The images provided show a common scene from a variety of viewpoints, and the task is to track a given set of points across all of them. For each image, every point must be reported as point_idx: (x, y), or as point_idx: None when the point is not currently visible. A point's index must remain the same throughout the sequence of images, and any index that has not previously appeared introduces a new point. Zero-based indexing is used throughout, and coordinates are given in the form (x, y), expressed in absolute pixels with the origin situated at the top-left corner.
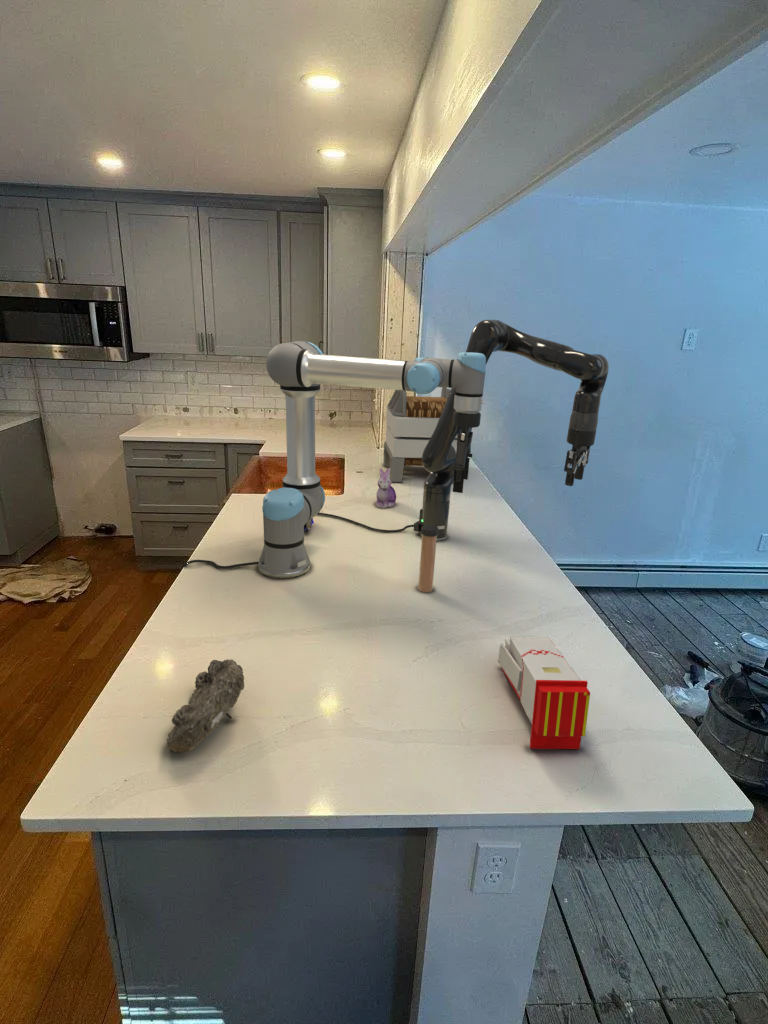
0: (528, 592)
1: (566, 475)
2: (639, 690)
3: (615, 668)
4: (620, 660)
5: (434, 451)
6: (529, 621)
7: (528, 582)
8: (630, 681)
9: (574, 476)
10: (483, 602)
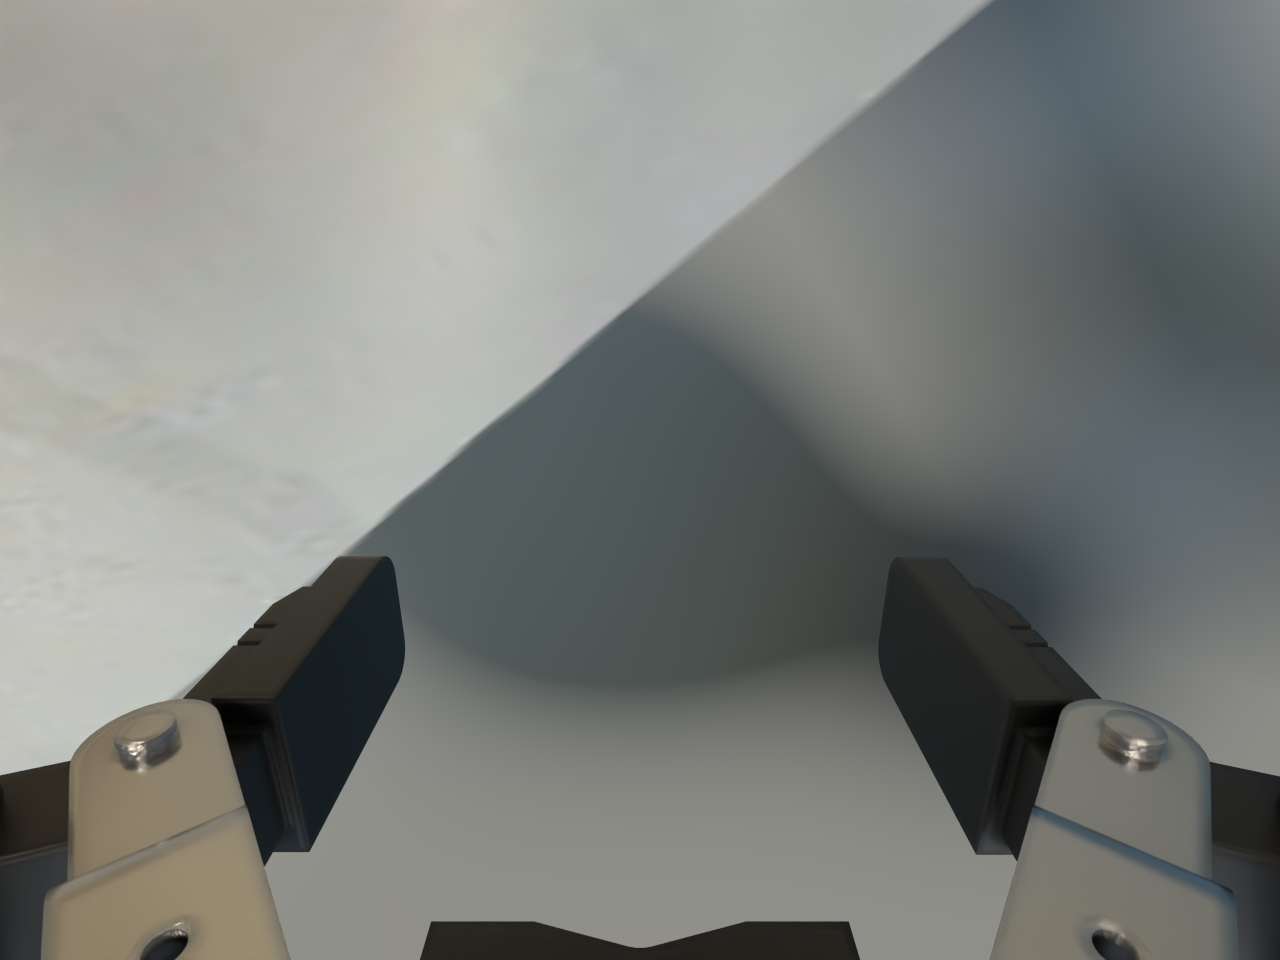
0: (299, 287)
1: (250, 657)
2: None
3: (52, 728)
4: None
5: None
6: (55, 401)
7: (406, 239)
8: None
9: (325, 796)
10: (3, 135)
